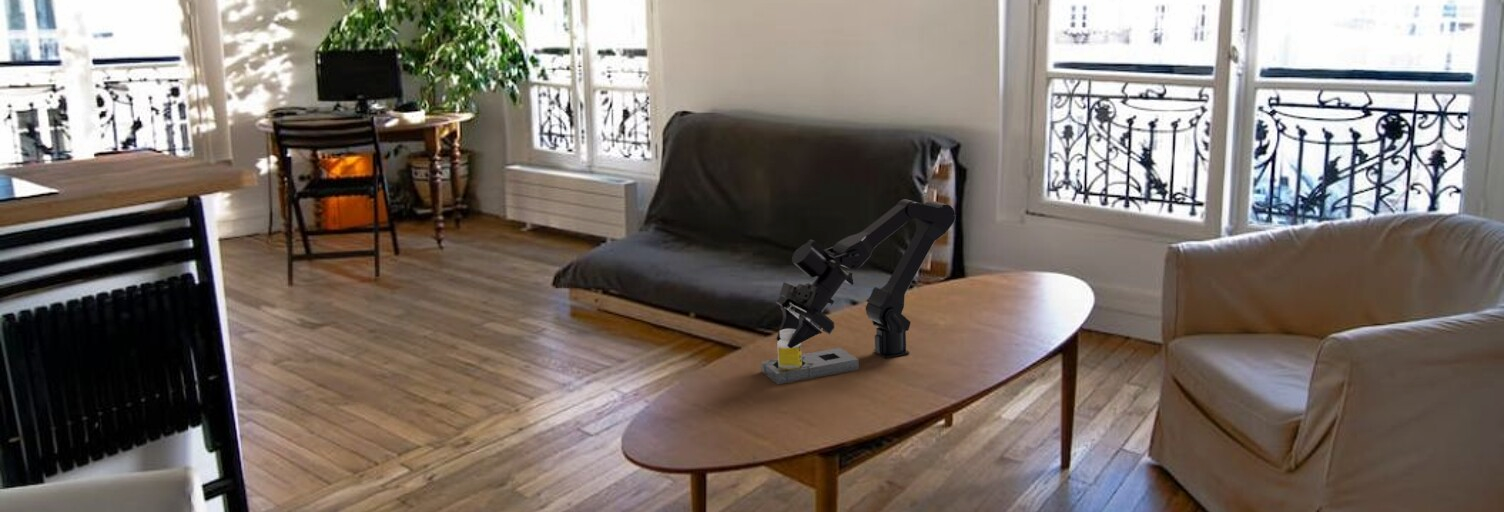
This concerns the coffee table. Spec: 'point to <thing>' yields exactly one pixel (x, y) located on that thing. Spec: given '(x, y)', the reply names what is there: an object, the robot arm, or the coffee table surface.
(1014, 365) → the coffee table surface
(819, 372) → the socket plate
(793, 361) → the supplement bottle
